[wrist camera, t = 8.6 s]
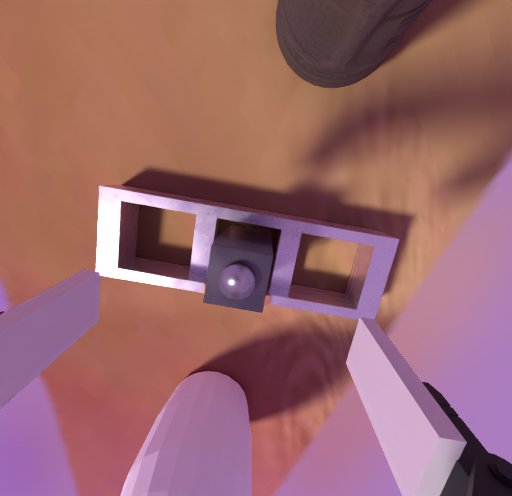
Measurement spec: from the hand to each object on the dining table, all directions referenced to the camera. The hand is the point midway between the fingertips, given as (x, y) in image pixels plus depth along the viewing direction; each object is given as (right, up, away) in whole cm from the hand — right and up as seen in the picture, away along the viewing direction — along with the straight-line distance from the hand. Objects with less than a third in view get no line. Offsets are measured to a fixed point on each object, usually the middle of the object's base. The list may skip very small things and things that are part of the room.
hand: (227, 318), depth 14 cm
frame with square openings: (0, +4, +16) cm, 17 cm away
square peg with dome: (0, +4, +16) cm, 17 cm away
